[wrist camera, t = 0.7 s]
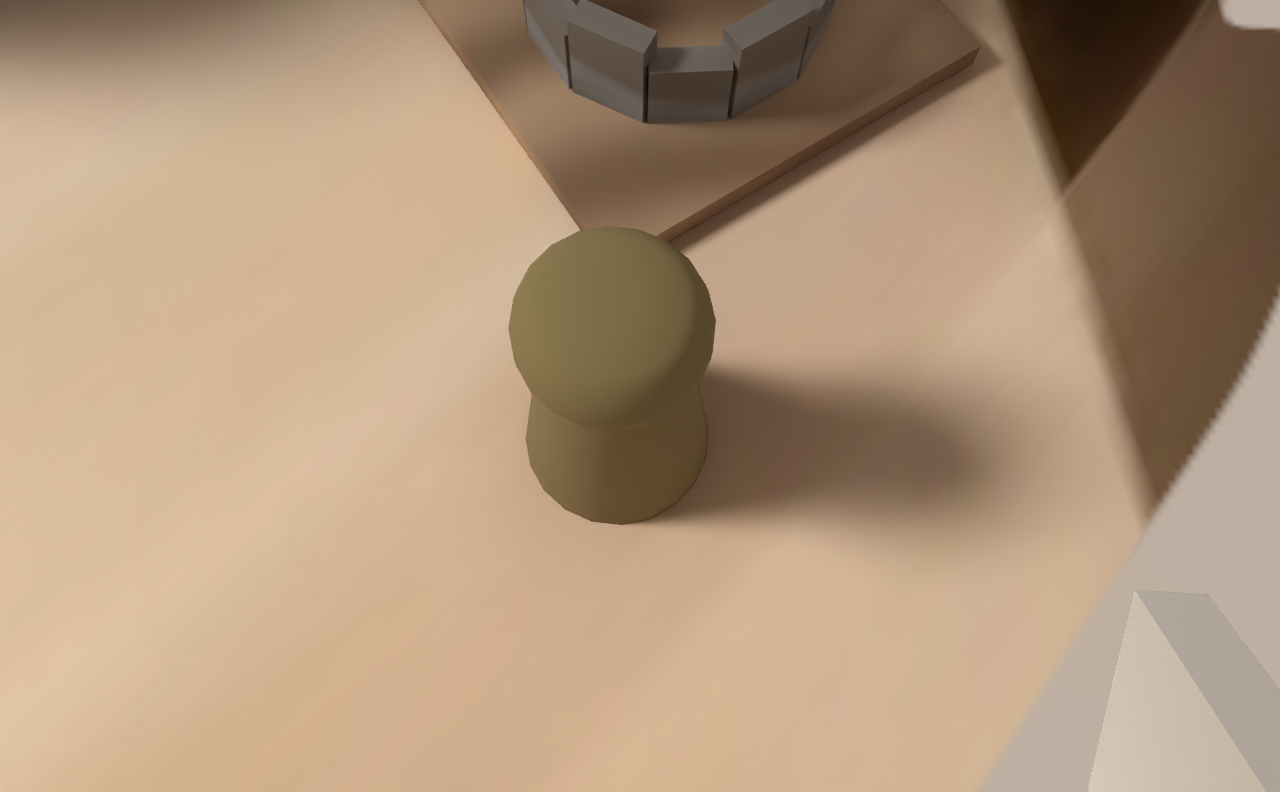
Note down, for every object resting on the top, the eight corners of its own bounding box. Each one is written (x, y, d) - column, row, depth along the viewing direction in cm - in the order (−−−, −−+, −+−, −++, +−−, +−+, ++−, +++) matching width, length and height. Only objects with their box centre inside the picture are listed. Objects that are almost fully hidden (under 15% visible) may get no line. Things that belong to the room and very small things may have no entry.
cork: (702, 346, 38) (728, 183, 28) (714, 520, 36) (747, 415, 26) (524, 353, 38) (483, 192, 28) (526, 528, 36) (484, 426, 26)
